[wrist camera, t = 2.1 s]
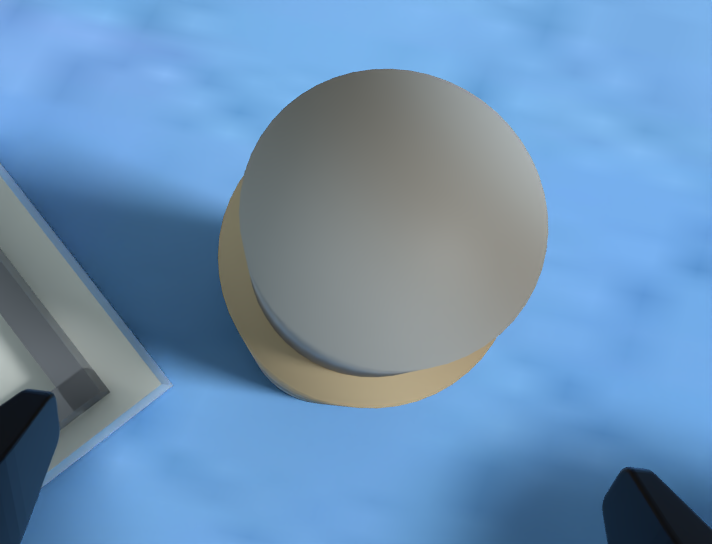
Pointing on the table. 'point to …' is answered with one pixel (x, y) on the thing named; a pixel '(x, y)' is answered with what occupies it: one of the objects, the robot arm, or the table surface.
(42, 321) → the stand
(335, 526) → the table surface
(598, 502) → the table surface
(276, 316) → the pepper mill
